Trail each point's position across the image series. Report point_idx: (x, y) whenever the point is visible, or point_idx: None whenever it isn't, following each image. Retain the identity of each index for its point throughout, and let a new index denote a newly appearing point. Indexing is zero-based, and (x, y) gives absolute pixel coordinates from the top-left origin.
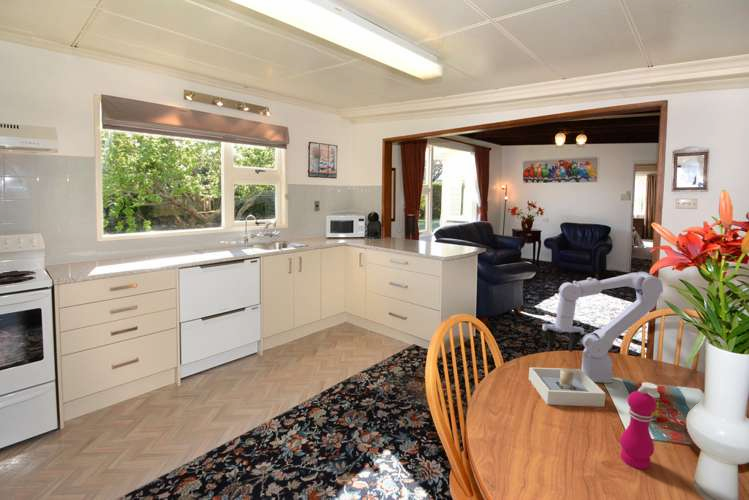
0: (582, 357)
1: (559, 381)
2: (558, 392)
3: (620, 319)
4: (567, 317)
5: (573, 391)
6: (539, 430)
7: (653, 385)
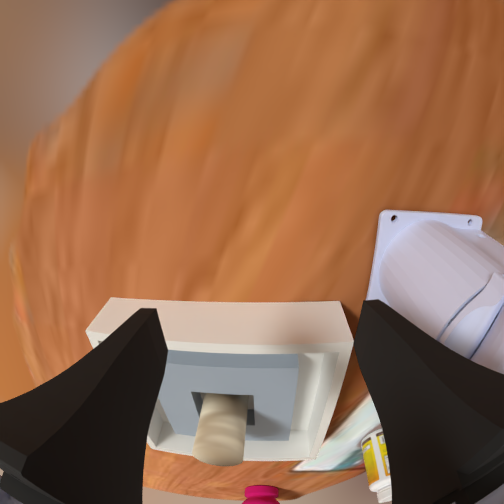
0: (429, 307)
1: (209, 390)
2: (179, 452)
3: None
4: None
5: None
6: None
7: None
